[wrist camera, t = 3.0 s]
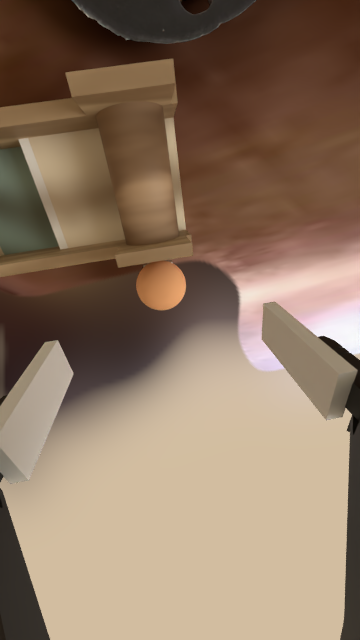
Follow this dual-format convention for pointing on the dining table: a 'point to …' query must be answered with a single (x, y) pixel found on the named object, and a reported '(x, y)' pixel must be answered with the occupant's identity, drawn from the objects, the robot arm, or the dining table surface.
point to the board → (160, 18)
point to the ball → (161, 285)
